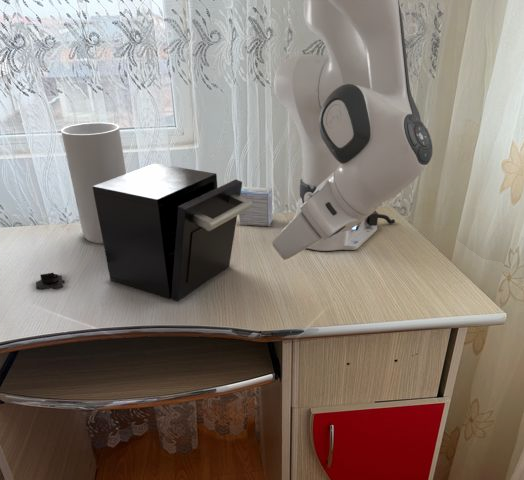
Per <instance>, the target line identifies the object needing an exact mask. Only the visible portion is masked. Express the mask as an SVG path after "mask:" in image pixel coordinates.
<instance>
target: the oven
mask: <svg viewBox="0 0 524 480" xmlns="http://www.w3.org/2000/svg"><path fill="white" fill-rule="evenodd" d="M217 174H218V173H217V172H216V173H215V172H208V171H203V170H202V171H201V170H197V169H191V168H185V167H179V166H174V165H167V164H162V163H152V164H149V165H146V166H144V167H141V168H138V169H136V170H133V171H130V172H126V174H125V175H122V176H119V177H116V178H114V179H111V180H108V181H106V182H103V183H100V184H97V185H95V186H92V187H93V192H94V198H95V203H96V208H97V213H98V218H99V224H100V229H101V234H102V239H103V243H102V244H103V248H104V249H103V250H104V255H105V259H106V265H107V269H108V275H109V281H110V282H112V283H115V284H118V285H121V286H125V287H127V288H131V289H136V290H138V291H141V292H144V293H148V294H152V295H154V296H158V297H161V298H164V299H168V300H172V299H171V294H172V281H173V268H174V255H175V242H176V229H177V216H178V206H181V205H183V204H185V203H187V202H189V201H191V200H193V199H195V198H197V197H200V196H202V195H204V194H206V193H208V192H210V191H212V190H214V189H216V188H218V176H217Z"/></svg>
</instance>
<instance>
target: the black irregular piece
mask: <svg viewBox="0 0 524 480" xmlns="http://www.w3.org/2000/svg"><path fill="white" fill-rule="evenodd" d="M64 283H65V279H63V276H62V275H60V274H58V273H54V272H49V273H41V274H40V279H39V280H38V281H35V287H36V290H41V291H43V290H49V289H52V290H60V289H62V288H64Z"/></svg>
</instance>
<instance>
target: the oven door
mask: <svg viewBox="0 0 524 480" xmlns="http://www.w3.org/2000/svg"><path fill="white" fill-rule="evenodd" d="M242 187H243V181H241V180H238V179H237V178H236V179H234V180H232V181H229V182H227V183H225V184H222V185H221V186H218V187H217V188H216V189H214V190H212V191H210V192H208V193H206V194H204V195H202V196H200V197H197V198H195V199H193V200H191V201H189V202H187V203H185V204H183V205H181V206H178V216H177V229H176V242H175V255H174V268H173V281H172V294H171V299H170V300H173V301H175V302H179V301H181V300H182V299H184V298H185V297H187V296H188V295H190V294H191V293H192V292H194V291H196V290H197V289H199V288H200V287H201V286H203V285H204V284H206V283H207V282H209V281H211V280H212V279H214V278H215V277H216V276H218V275H219V274H222V273H223V272H224V271H225V270H227V269H229V268H230V265H231V257H232V251H233V245H234V240H235V239H234V238H235V231H236V226H237V220H238V216H239V214H241V213H243V212H244V211H246V210H248V209H250V208H251V207H252V206H253V203H252V201H251V200H248V199H246V198H243V197H241V196H240V194H241V188H242Z"/></svg>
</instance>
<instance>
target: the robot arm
mask: <svg viewBox="0 0 524 480" xmlns="http://www.w3.org/2000/svg"><path fill="white" fill-rule="evenodd" d="M302 2H303V19H304V22H305V24H306V26H307V27H308V29H309V30H310V31H311V32H312V33H313V34H315V35H317V36H318V37H319V38H320V40H321V41H322V42H323V44H324V45H325V48H326V50H327V54H307V53H306V54H300V55H294V56H291V57H286V58H284V59H283V60H282V61H281V62H280V64H279V65H278V67H277V68H276V71H275V73H274V78H273V90H274V94H275V97H276V99H277V101H278V103H279V104H280V105H281V106H282V107H283V108H284V109H285V110H286V111H287V113H288V114H289V116H290V117H291V119H292V121H293V123H294V125H295V127H296V130H297V132H298V135H299V139H300V147H301V158H302V159H301V168H302V170H301V173H302V174H301V179H300V180H299V181H300V182H299V188H298V189H299V197H300V198H299V199H298V200H297V204H296V211H295V216H294V217H293V218H292V219H291V220H290V221H289V222H288V223H287V224H286V226H284V228H283V229H282V230H281V231H280V232H279V233H278V234H277V235H276V236H275V237H274V239H273V241H272V247H273V248H274V250H275V251H276V252H277V253H278V255H279V256H280V257H281V258H282V260H289V259H290V258H293V257H295V256H296V255H298V254H299V253H301V252H302V251H304V250H306V249H309V250H312V251H321V252H322V251H323V252H330V251H331V252H332V251H342V250H344V251H355V250H358V249H359V248H360V247H361V246H363V244H364V243H365V242H367V240H368V239H369V238H371V237H372V236H373V235H374V234H375V233H376V232H377V231H378V222H379V221H378V219H383V220H385V221H386V222H387V223H388V224H390V225H391V224H395V223H396V220H395V219H394V218H392V219H391V218H390V217H389V216H388V215H386V214H381V213H378V212H377V211H376V210H377V209H378V208H379V206H380V205H381V204H382V203H384V202H386V201H388V200H391V199H393V198H394V197H396V196H397V195H398V194H400V193H401V192H402V191H403V190H405V188H407V187H408V186H409V185H410V184H412V182H414V181H415V180H416V179H417V178H418V177H419V176H420V175H421V174H422V173H423V172H424V171H425V169H426V168H427V167H428V165H429V164H430V162H431V160H432V157H433V141H432V136H431V135H430V132H429V130H428V128H427V127H426V125H425V124H424V122H422V119H421V116H420V115H421V114H420V112H419V108H418V107H417V105H416V103H415V100H414V97H413V94H412V91H411V86H410V77H409V67H408V58H407V50H406V49H407V48H406V39H405V30H404V21H403V15H402V9H401V5H400V4H401V3H400V0H303V1H302Z"/></svg>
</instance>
